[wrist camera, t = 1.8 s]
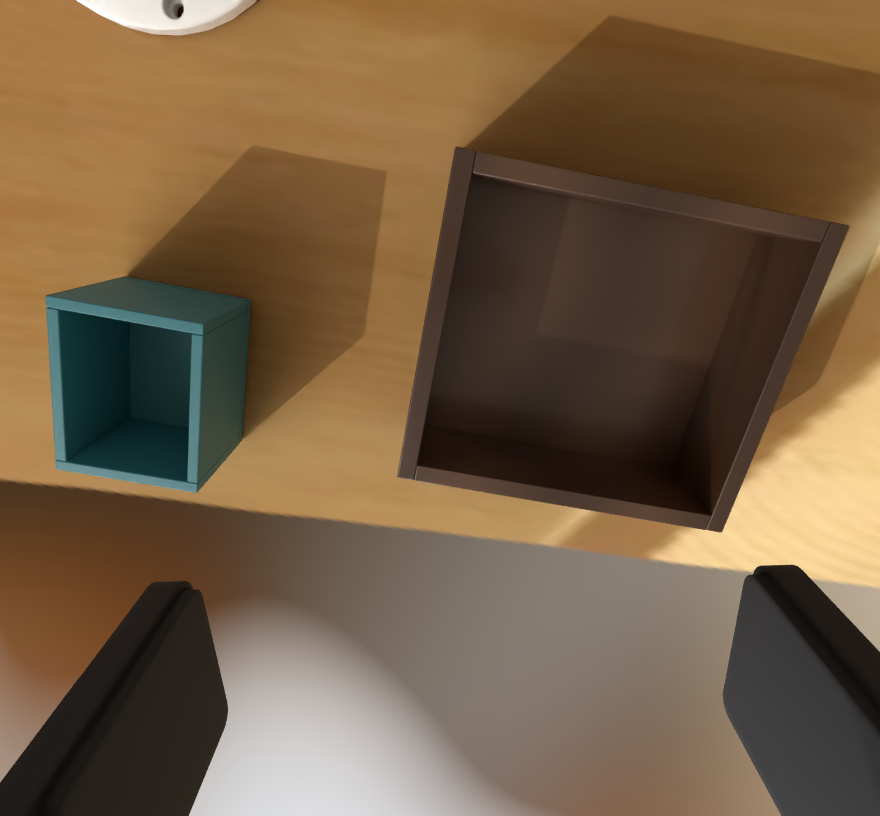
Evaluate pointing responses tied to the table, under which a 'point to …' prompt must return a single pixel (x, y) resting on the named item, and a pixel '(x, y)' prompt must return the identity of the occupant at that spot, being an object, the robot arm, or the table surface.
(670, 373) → the crate
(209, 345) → the box
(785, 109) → the table surface
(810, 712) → the robot arm
